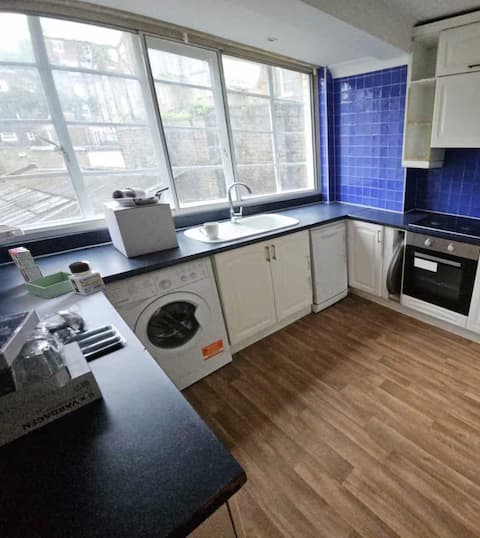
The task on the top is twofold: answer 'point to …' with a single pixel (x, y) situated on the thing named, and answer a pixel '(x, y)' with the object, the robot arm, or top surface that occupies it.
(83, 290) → the container
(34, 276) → the candy bar box
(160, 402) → the top surface
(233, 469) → the top surface
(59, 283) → the tray
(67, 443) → the top surface
